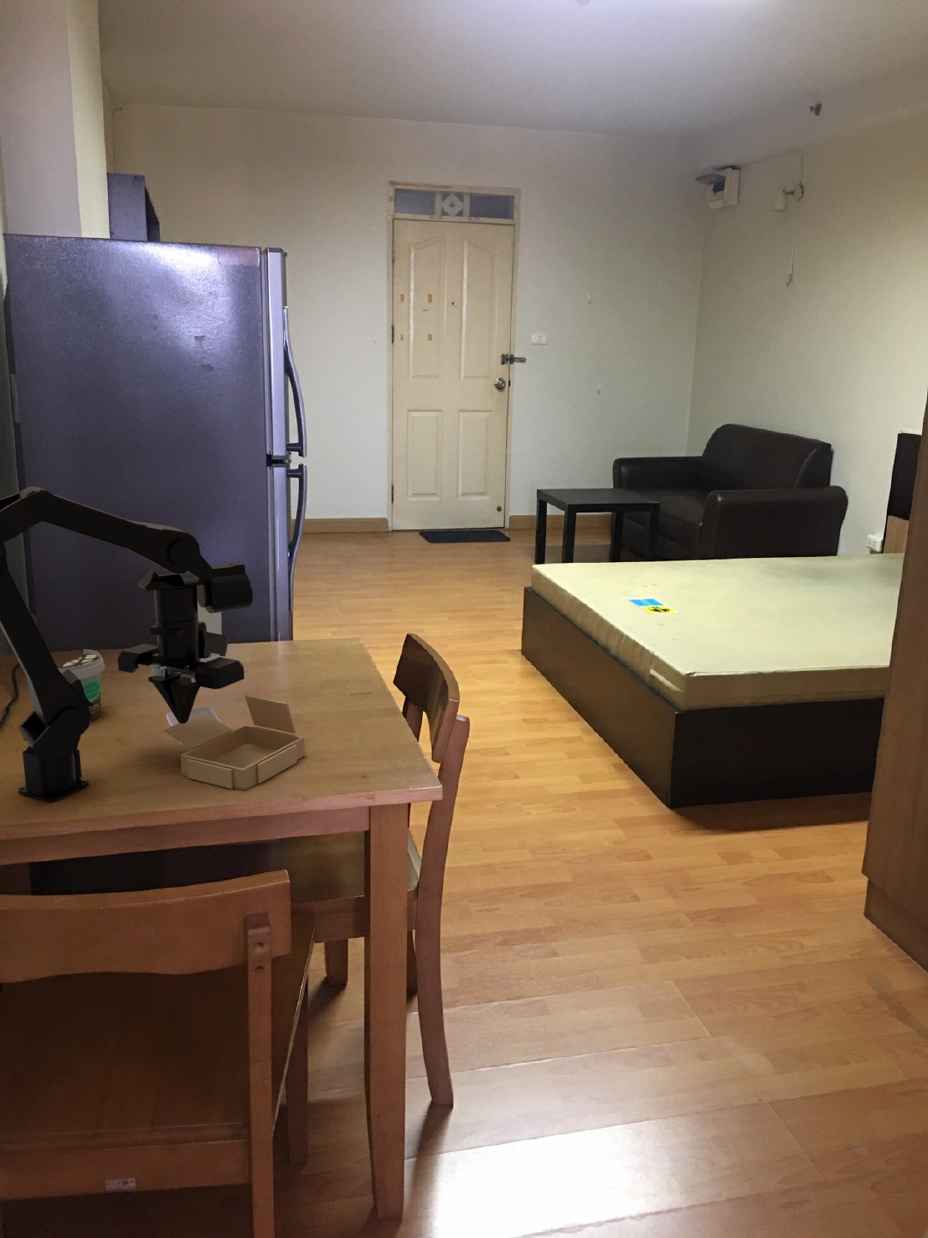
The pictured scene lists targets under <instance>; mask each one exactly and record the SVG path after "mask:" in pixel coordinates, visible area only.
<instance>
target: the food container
mask: <svg viewBox="0 0 928 1238" xmlns="http://www.w3.org/2000/svg"><path fill="white" fill-rule="evenodd" d="M57 668H58V670H59V671H60V672H61V673H63V672H64V671H66V670H67V669H70V670H71V671H72V672H73V673H74V674H75V675H76V676H77V677H78V678H79V679H80V680H81V683H82V686H83V689H84V693H85V696H86V697H87V699H88V700H89V701H90V702H91V703H92V704H93V706H92V707H88V708H89V709H90V712H91V716H92V720H91V722H90V723H92V722H94V721H97V720H98V719H100V717H101V716H102V715H101V714H102V713H101V712H102V709H101V707H102V705H101V704H102V697H101V696H102V690H101V689H102V687H101V686H102V672H104V671H105V669H106V665H105V662H104V658H103V657H102V656H101V654H100V653H99V652H98V651H96V650H92V649H85V648H83V654H82V655H80V656H78V657H76V658H73V659H69V660H65V661H63V662H62V663H61V664H59V665H58V666H57Z"/></svg>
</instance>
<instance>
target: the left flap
mask: <svg viewBox="0 0 928 1238" xmlns="http://www.w3.org/2000/svg"><path fill="white" fill-rule="evenodd" d="M219 721H220V720H219ZM219 721H218V720H216V719H215V718H213V717H212V716H210V715H209V714H207V713H206V712H204V713H201V714H199V715H197V716H194V717H192V718H190V719H189V720H188V722H187V723H184V724H182V723H178V724H176V725H174V726H169V727H167V728H164V729H163V732H164V733H166V734H167V735H168V736H170V737H172V738H173V739H174V740H176V741H178V743H179V742H180V743H182V744H183V746H185V747H186V748H188V749H189V750H190V751H191V750H193V749H195V748H197V747H199V746H201V745H203V744H205V743H207V742H210V741H212V740H214V739H216V738H218V737H220V736H222V735H224V734H226V733H229V732H231V731H233V729H232V728H230V727H229V726H227V725H225V724H223V722H221V721H220V722H219ZM180 743H179V744H180ZM182 744H181V745H182Z"/></svg>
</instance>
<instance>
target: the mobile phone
mask: <svg viewBox="0 0 928 1238" xmlns="http://www.w3.org/2000/svg"><path fill="white" fill-rule="evenodd" d="M204 712H206V713H207V714H209V715H210V716H212V717H213V718H215V719H216V720H218V721H219V722H221V721H220V719H219V717H217V715H216V713H215V712H214V711H213V709H212V708H210V707H199V708H192V710H191V714H190V717H189V719H190V718H192V717H194V716H197V715H199V714H201V713H204ZM165 717H166V720H167V721H168V724H169V725H170V726H169V727H171V726H174V725H176V724H178V723H179V722H178V721H177V719H176V718H175V716H174V714H173V713H172V711H169V712H167V713H166V714H165ZM178 743H179V744H180V745H183V744H182V743H180V742H179V741H178ZM183 746H184V745H183Z"/></svg>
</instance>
